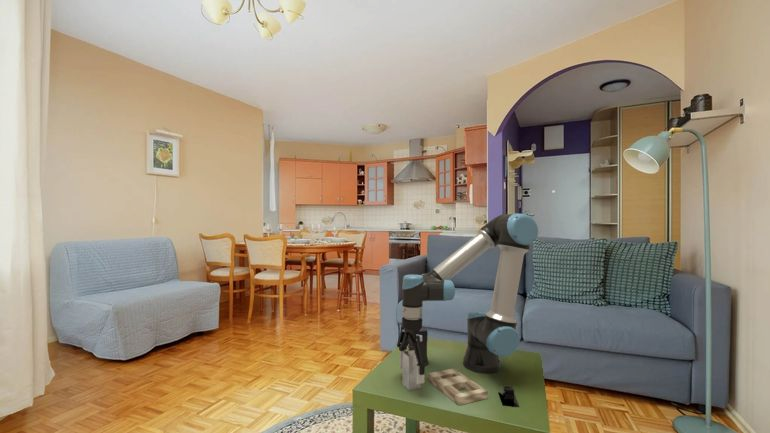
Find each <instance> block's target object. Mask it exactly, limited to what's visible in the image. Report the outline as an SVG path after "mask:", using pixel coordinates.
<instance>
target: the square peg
mask: <svg viewBox="0 0 770 433" xmlns="http://www.w3.org/2000/svg"><path fill="white" fill-rule="evenodd" d="M417 364H418V362H417V358H416V355H415V352H414V350H412V351H409V350H406V351H405V352H403V369H402V385H403V387H405V389H407V390H408V391H412V390H416V389H422V383H421V384H417Z"/></svg>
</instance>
